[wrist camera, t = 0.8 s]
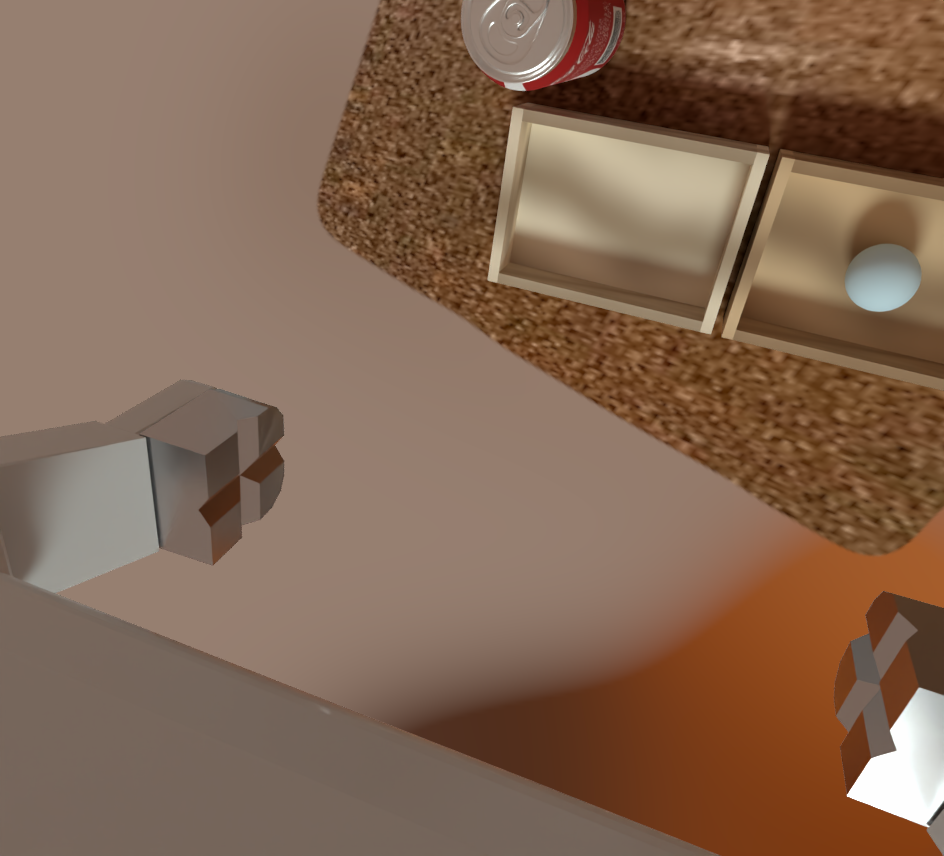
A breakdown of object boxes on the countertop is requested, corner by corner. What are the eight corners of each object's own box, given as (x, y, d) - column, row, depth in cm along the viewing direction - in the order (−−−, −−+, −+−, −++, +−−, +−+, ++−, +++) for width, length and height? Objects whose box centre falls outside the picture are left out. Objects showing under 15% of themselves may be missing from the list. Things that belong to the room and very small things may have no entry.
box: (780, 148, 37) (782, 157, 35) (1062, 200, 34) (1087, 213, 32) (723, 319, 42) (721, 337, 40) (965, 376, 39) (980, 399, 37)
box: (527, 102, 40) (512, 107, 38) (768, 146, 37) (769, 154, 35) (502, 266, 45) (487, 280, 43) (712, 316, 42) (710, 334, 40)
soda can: (510, 31, 39) (427, 30, 29) (574, -61, 36) (508, -98, 26) (579, 99, 39) (521, 121, 29) (648, 13, 36) (611, 6, 26)
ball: (856, 230, 37) (865, 246, 34) (926, 244, 37) (941, 262, 34) (831, 291, 39) (837, 311, 36) (897, 306, 38) (909, 328, 35)
